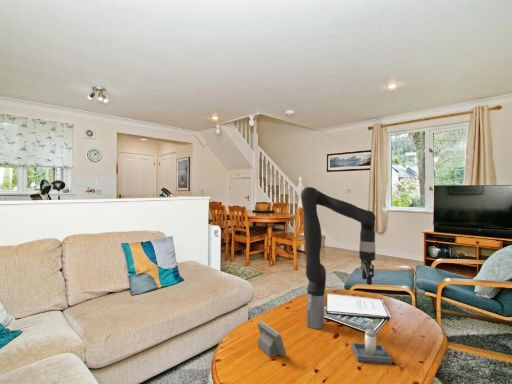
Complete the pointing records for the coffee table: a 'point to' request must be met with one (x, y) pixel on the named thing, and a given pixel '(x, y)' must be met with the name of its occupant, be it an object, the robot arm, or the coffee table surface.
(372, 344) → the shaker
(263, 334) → the digital clock
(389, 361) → the tray
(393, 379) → the coffee table surface
